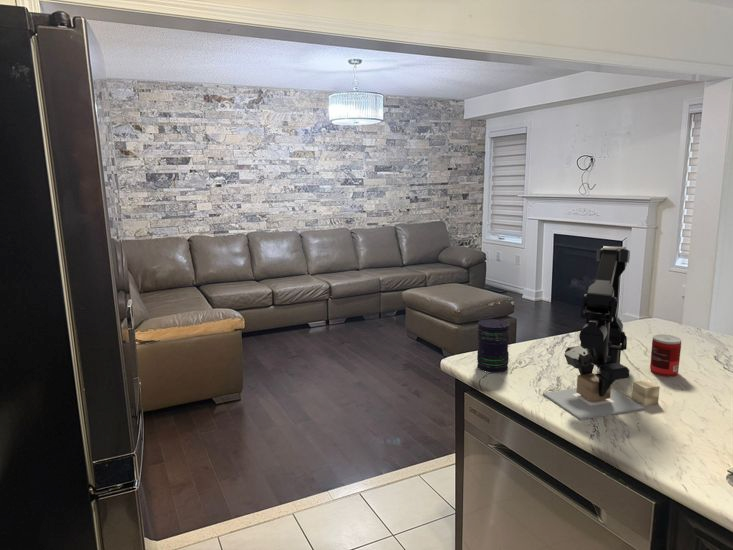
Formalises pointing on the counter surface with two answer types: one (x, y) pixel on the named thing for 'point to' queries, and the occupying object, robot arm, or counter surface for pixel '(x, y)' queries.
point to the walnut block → (590, 387)
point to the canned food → (665, 355)
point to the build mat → (592, 404)
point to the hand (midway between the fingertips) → (593, 391)
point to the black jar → (493, 345)
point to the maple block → (645, 392)
